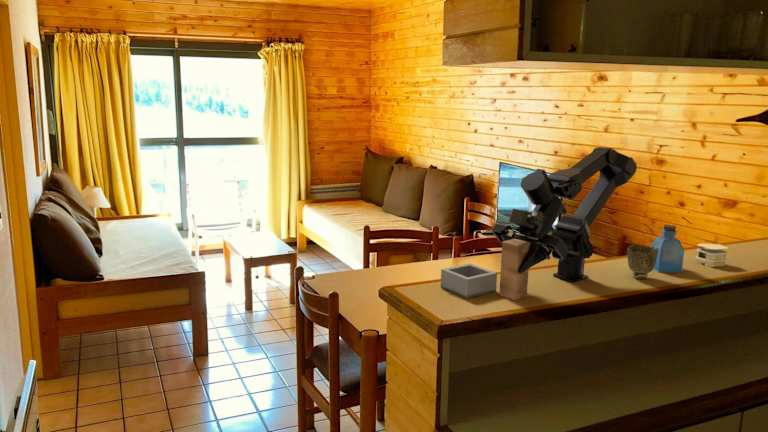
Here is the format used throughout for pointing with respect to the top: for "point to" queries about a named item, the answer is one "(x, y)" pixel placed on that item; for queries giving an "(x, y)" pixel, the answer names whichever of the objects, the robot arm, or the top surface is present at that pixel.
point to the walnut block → (513, 269)
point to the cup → (641, 260)
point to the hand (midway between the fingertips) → (510, 269)
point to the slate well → (468, 280)
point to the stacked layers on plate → (712, 254)
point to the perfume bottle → (668, 251)
